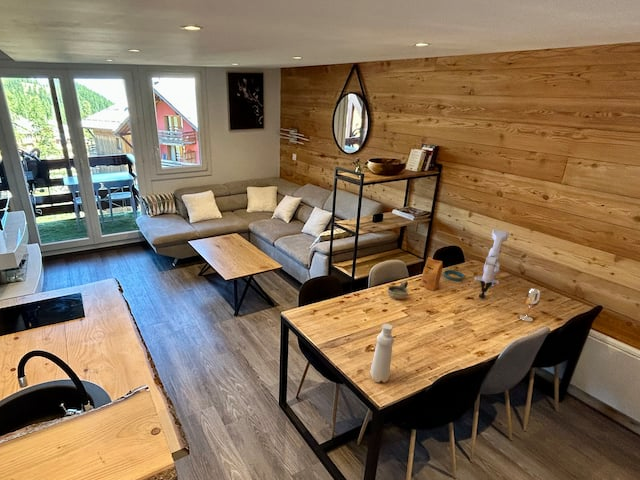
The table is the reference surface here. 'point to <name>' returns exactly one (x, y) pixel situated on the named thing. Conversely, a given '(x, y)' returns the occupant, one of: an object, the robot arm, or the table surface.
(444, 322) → the table surface
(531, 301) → the wineglass
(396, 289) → the bowl
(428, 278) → the coffee package
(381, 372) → the bottle
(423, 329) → the table surface
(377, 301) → the table surface
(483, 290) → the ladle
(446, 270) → the teal ring
